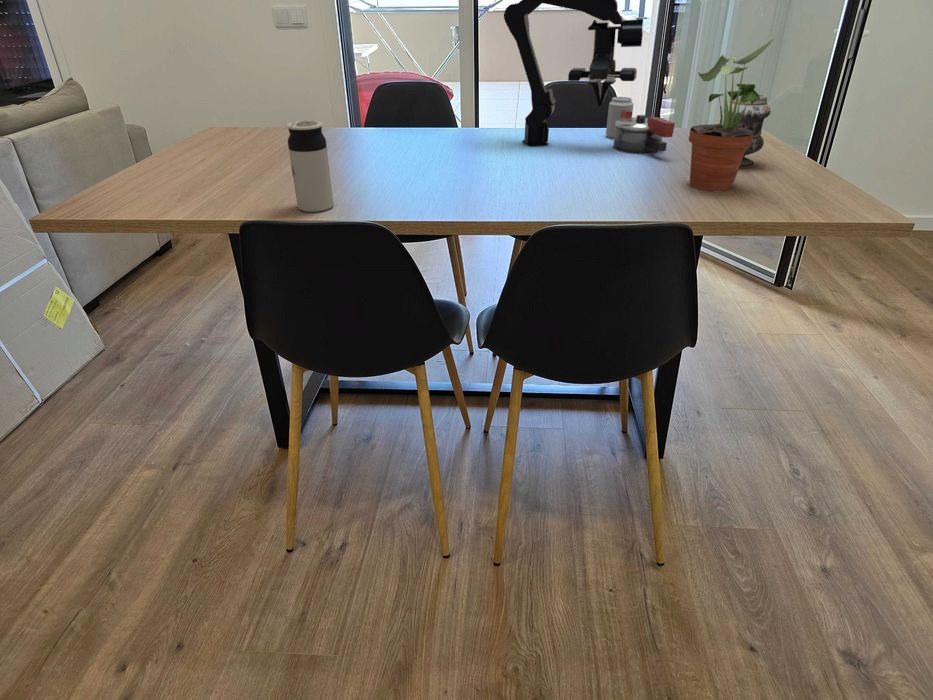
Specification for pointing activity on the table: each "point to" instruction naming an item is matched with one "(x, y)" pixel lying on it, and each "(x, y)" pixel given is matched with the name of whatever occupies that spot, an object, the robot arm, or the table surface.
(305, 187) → the travel mug
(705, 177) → the potted plant
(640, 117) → the lid
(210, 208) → the table surface
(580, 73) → the robot arm
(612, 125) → the can
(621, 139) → the dark grey curved piece
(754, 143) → the weathered urn vase
